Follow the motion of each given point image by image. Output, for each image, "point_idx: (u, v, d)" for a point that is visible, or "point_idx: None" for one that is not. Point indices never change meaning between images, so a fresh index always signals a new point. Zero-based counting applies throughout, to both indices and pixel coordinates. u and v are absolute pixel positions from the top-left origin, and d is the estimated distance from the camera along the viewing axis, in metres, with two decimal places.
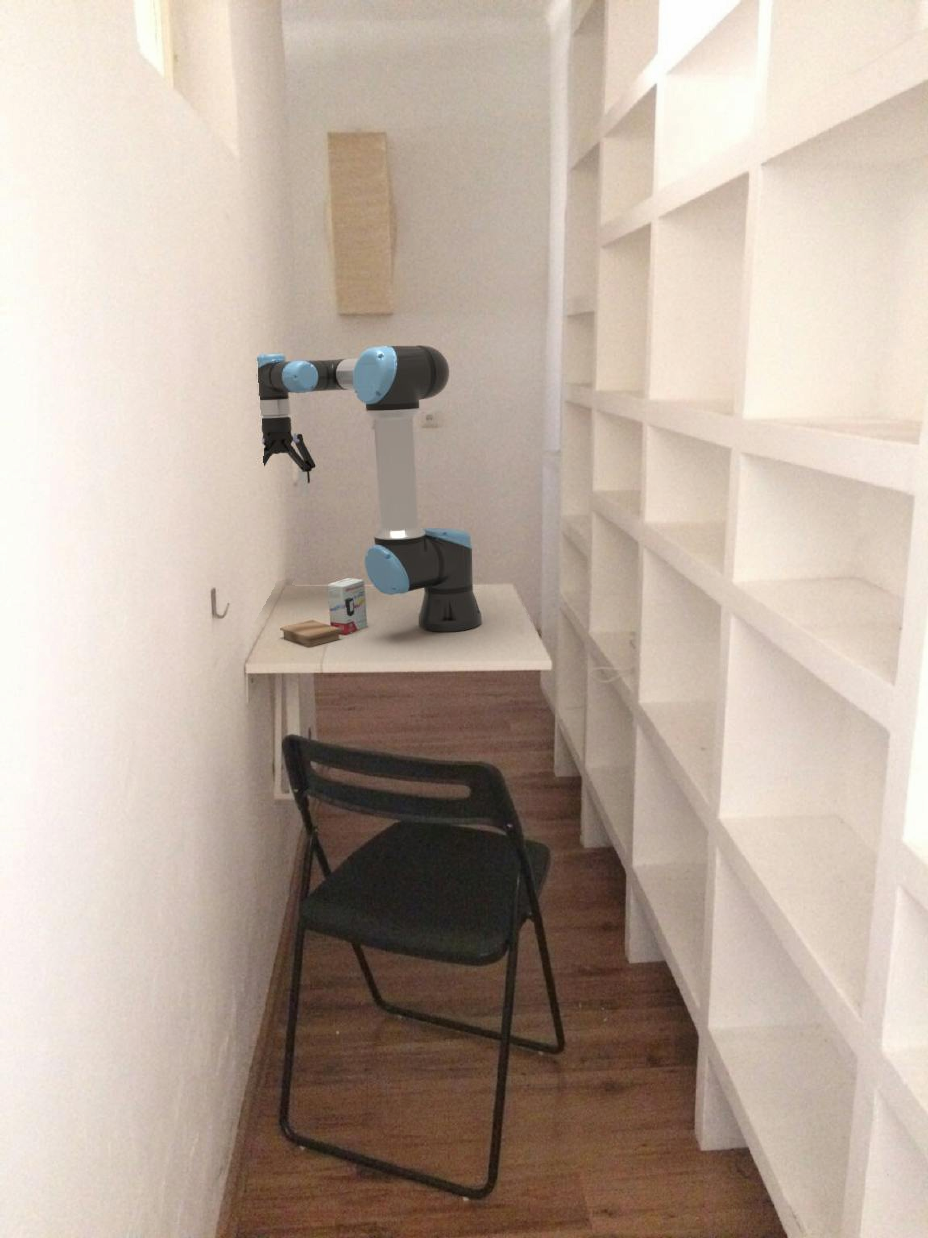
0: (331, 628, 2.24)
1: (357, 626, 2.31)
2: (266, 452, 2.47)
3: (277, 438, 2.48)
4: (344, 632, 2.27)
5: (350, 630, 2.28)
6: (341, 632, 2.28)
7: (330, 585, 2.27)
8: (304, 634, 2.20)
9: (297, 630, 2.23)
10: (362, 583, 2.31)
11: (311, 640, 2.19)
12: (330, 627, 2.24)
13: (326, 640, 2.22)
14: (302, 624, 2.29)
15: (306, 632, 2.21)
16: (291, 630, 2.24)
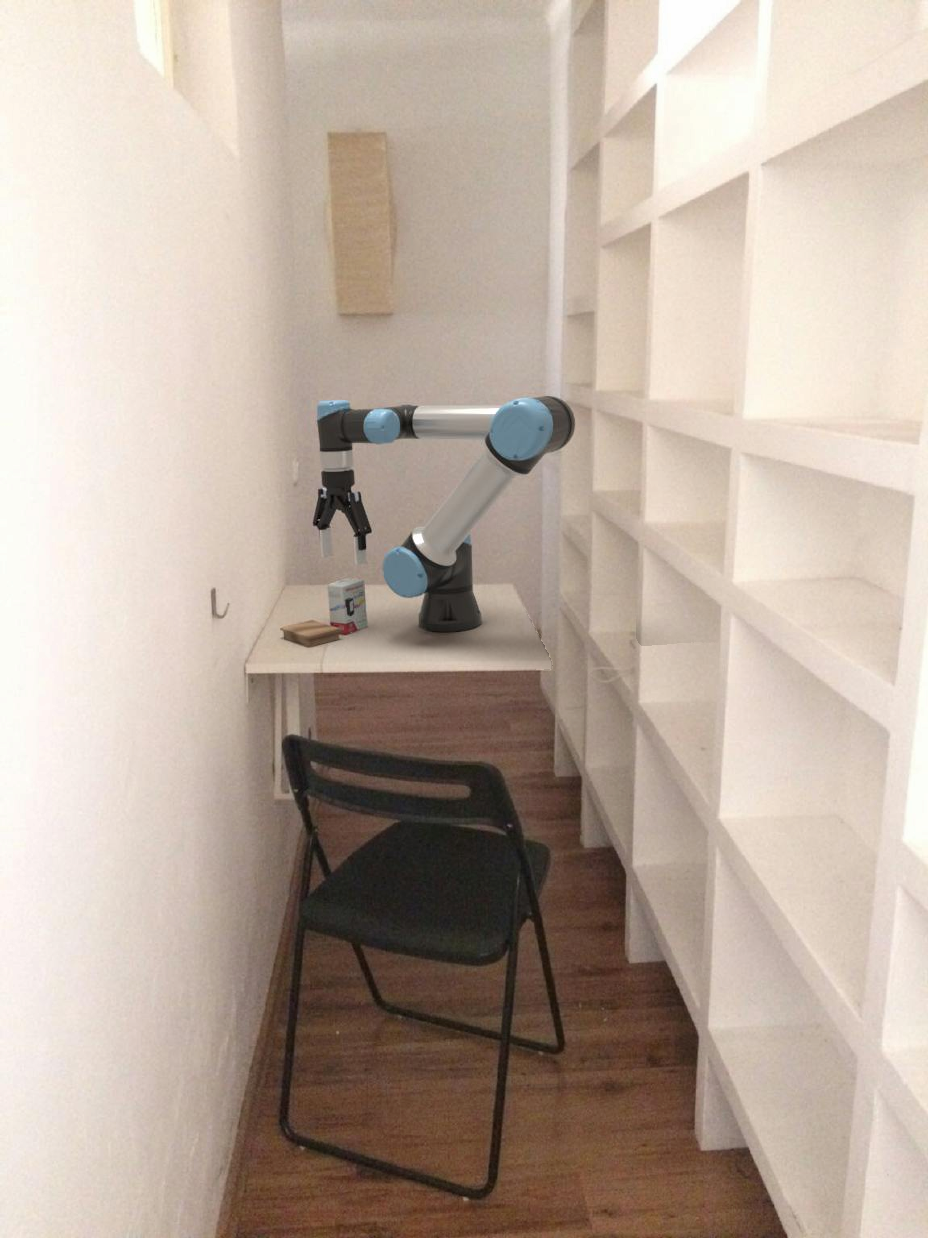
0: (331, 628, 2.24)
1: (357, 626, 2.31)
2: None
3: (333, 493, 2.23)
4: (344, 632, 2.27)
5: (350, 630, 2.28)
6: (341, 632, 2.28)
7: (330, 585, 2.27)
8: (304, 634, 2.20)
9: (297, 630, 2.23)
10: (362, 583, 2.31)
11: (311, 640, 2.19)
12: (330, 627, 2.24)
13: (326, 640, 2.22)
14: (302, 624, 2.29)
15: (306, 632, 2.21)
16: (291, 630, 2.24)
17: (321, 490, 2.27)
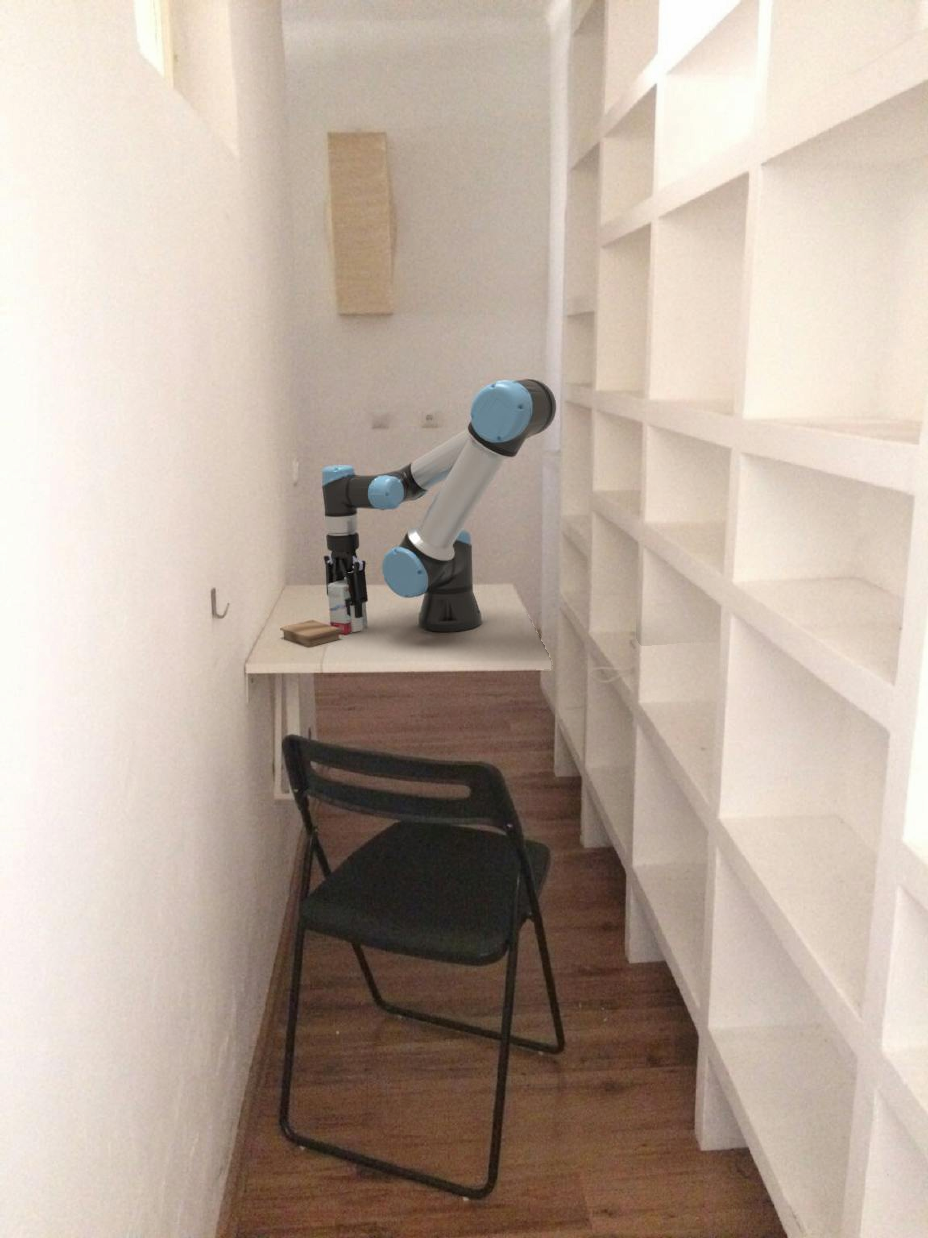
0: (331, 628, 2.24)
1: None
2: None
3: (337, 552, 2.27)
4: (344, 632, 2.27)
5: (350, 630, 2.28)
6: (341, 632, 2.28)
7: (330, 585, 2.27)
8: (304, 634, 2.20)
9: (297, 630, 2.23)
10: None
11: (311, 640, 2.19)
12: (330, 627, 2.24)
13: (326, 640, 2.22)
14: (302, 624, 2.29)
15: (306, 632, 2.21)
16: (291, 630, 2.24)
17: (326, 556, 2.31)
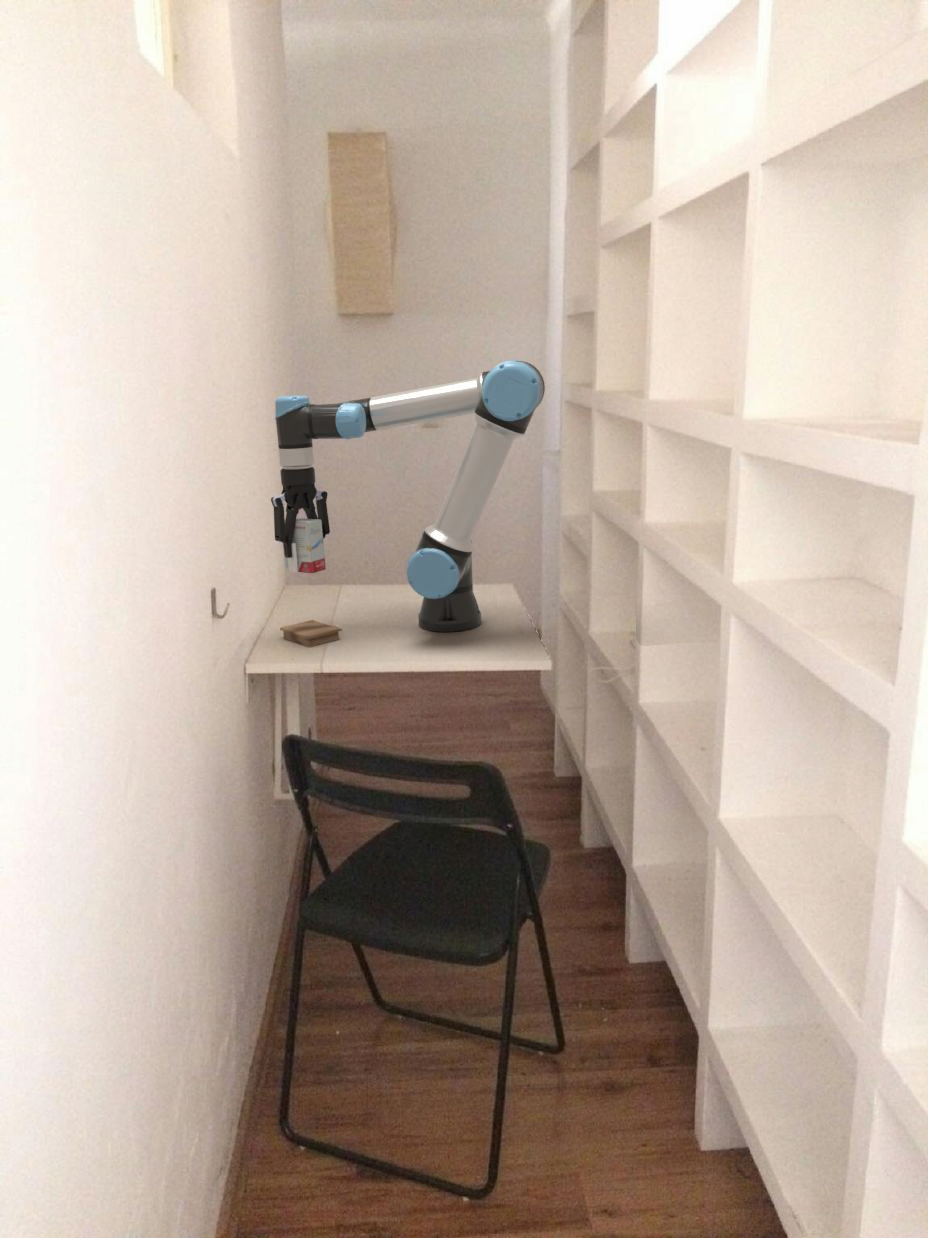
0: (331, 628, 2.24)
1: None
2: (290, 511, 2.16)
3: (297, 488, 2.15)
4: (324, 567, 2.21)
5: None
6: (322, 568, 2.20)
7: (309, 522, 2.15)
8: (304, 634, 2.20)
9: (297, 630, 2.23)
10: None
11: (311, 640, 2.19)
12: (330, 627, 2.24)
13: (326, 640, 2.22)
14: (302, 624, 2.29)
15: (306, 632, 2.21)
16: (291, 630, 2.24)
17: None
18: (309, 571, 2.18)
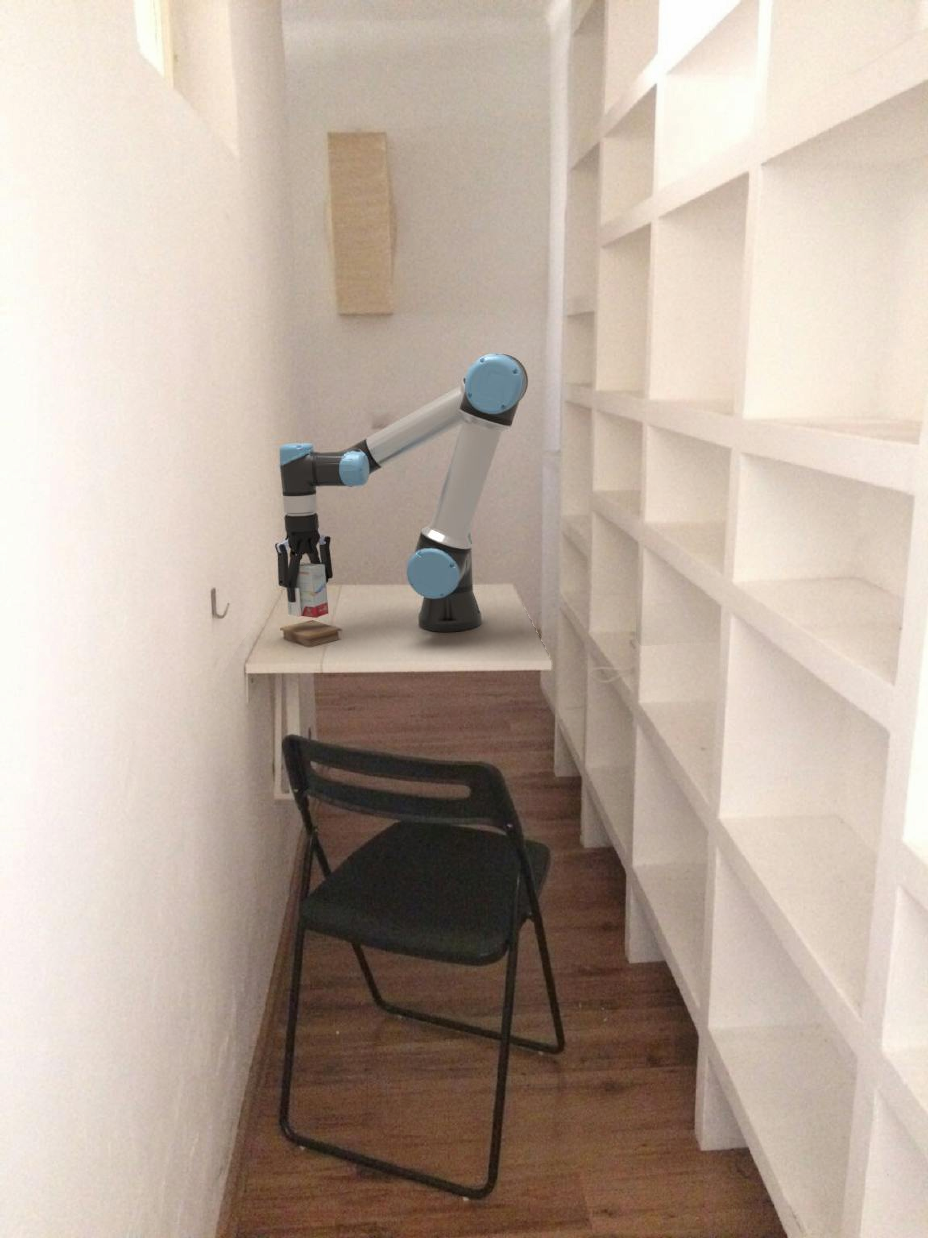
0: (331, 628, 2.24)
1: None
2: (294, 557, 2.18)
3: (301, 534, 2.18)
4: (327, 611, 2.23)
5: None
6: (325, 612, 2.22)
7: (313, 567, 2.18)
8: (304, 634, 2.20)
9: (297, 630, 2.23)
10: None
11: (311, 640, 2.19)
12: (330, 627, 2.24)
13: (326, 640, 2.22)
14: (302, 624, 2.29)
15: (306, 632, 2.21)
16: (291, 630, 2.24)
17: (283, 545, 2.15)
18: (312, 616, 2.20)
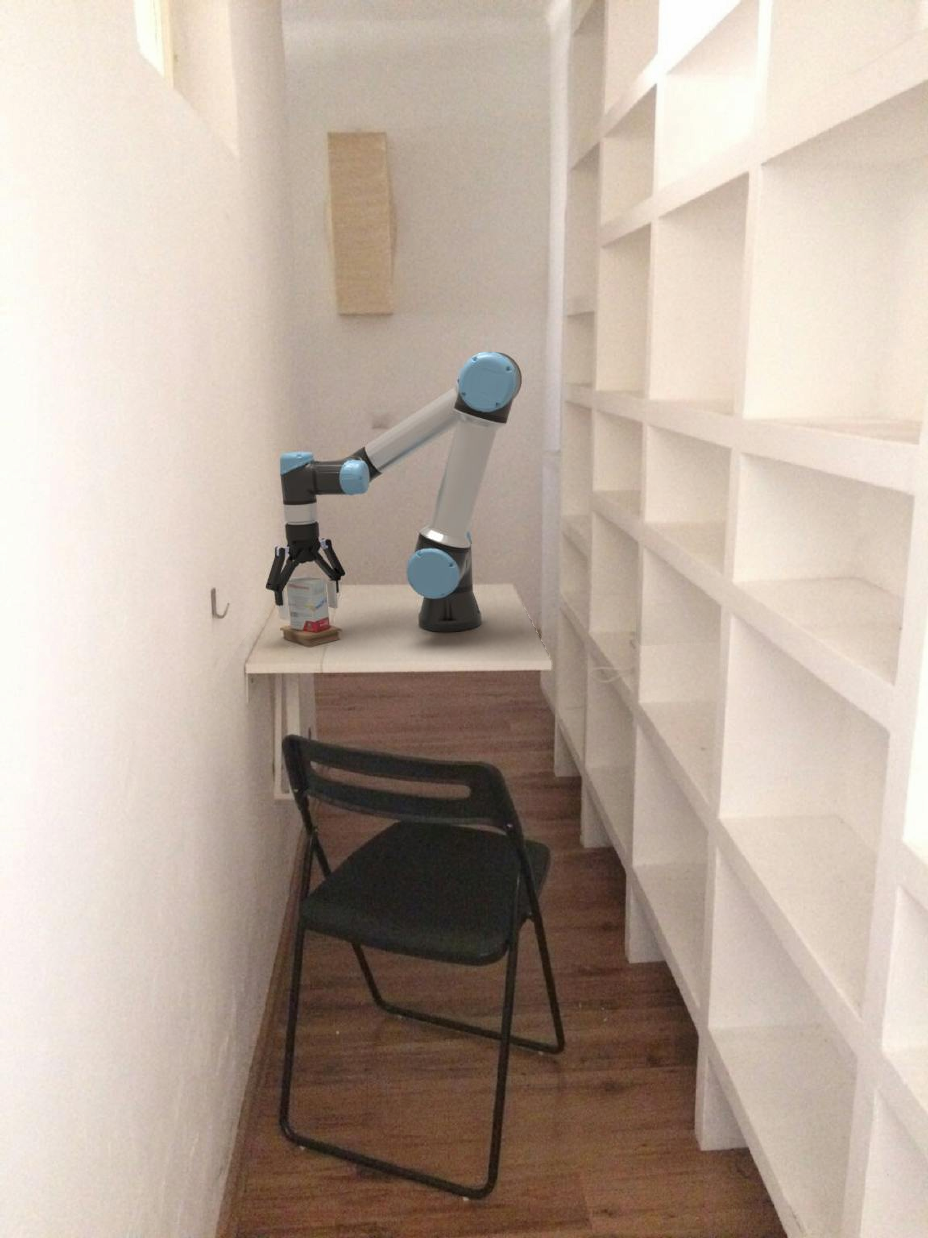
0: (331, 628, 2.24)
1: None
2: (291, 562, 2.18)
3: (303, 546, 2.19)
4: (328, 626, 2.24)
5: None
6: (326, 627, 2.23)
7: (313, 582, 2.18)
8: (304, 634, 2.20)
9: (297, 630, 2.23)
10: None
11: (311, 640, 2.19)
12: (330, 627, 2.24)
13: (326, 640, 2.22)
14: None
15: (306, 632, 2.21)
16: (291, 630, 2.24)
17: None
18: (313, 630, 2.21)
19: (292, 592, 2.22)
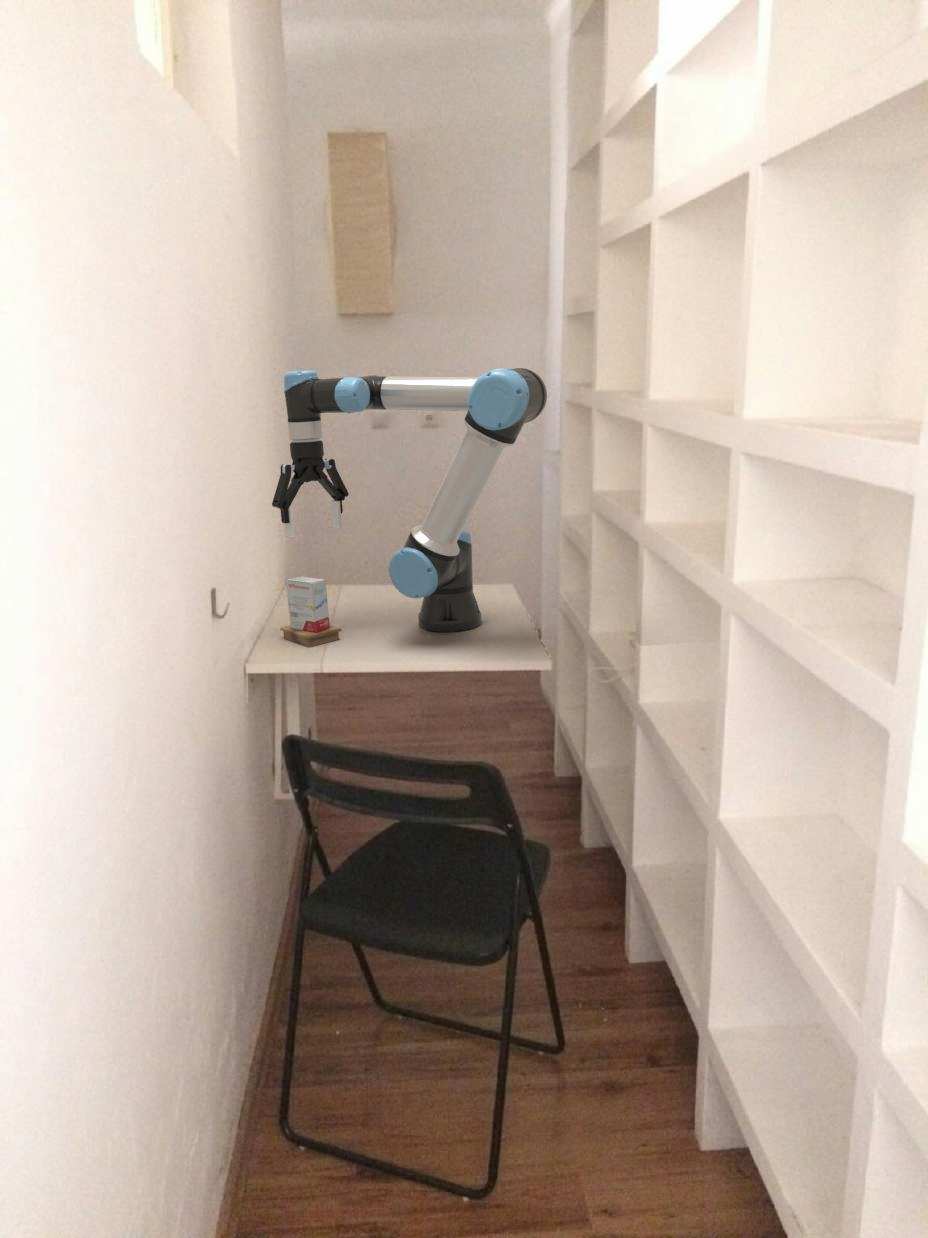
0: (331, 628, 2.24)
1: None
2: (296, 480, 2.20)
3: (308, 464, 2.21)
4: (328, 626, 2.24)
5: None
6: (326, 627, 2.23)
7: (313, 582, 2.18)
8: (304, 634, 2.20)
9: (297, 630, 2.23)
10: None
11: (311, 640, 2.19)
12: (330, 627, 2.24)
13: (326, 640, 2.22)
14: None
15: (306, 632, 2.21)
16: (291, 630, 2.24)
17: None
18: (313, 630, 2.21)
19: (292, 592, 2.22)
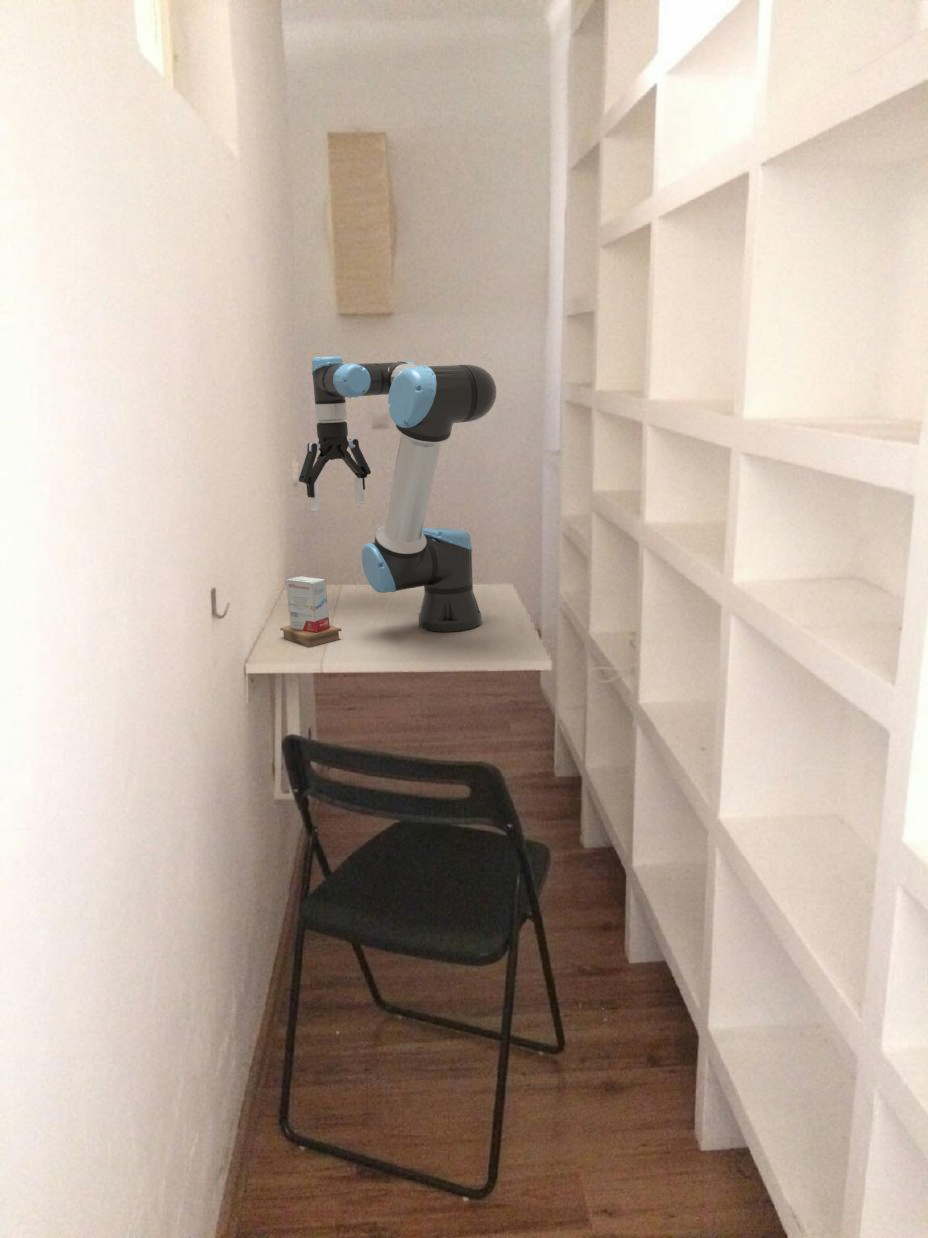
0: (331, 628, 2.24)
1: None
2: (321, 458, 2.38)
3: (333, 443, 2.39)
4: (328, 626, 2.24)
5: None
6: (326, 627, 2.23)
7: (313, 582, 2.18)
8: (304, 634, 2.20)
9: (297, 630, 2.23)
10: None
11: (311, 640, 2.19)
12: (330, 627, 2.24)
13: (326, 640, 2.22)
14: None
15: (306, 632, 2.21)
16: (291, 630, 2.24)
17: None
18: (313, 630, 2.21)
19: (292, 592, 2.22)
